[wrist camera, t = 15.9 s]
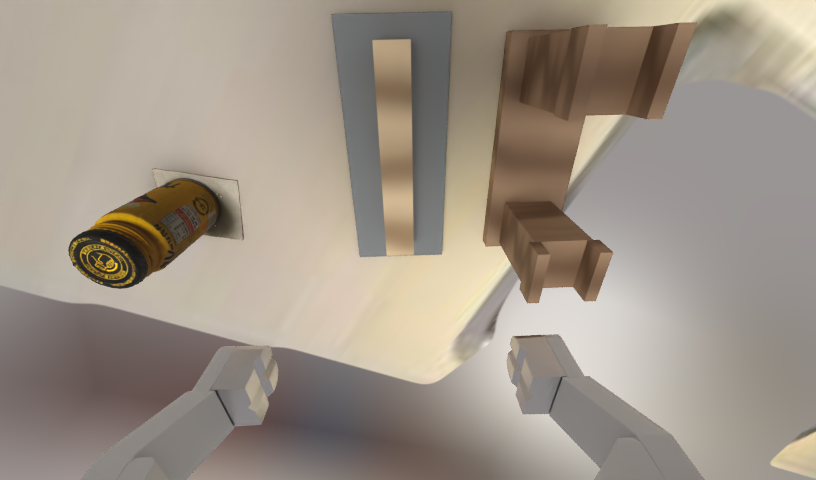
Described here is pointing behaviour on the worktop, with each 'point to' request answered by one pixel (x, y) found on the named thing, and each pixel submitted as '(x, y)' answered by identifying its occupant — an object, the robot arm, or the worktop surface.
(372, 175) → the mat
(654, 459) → the robot arm
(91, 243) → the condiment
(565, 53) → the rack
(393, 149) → the rail
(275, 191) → the worktop surface
